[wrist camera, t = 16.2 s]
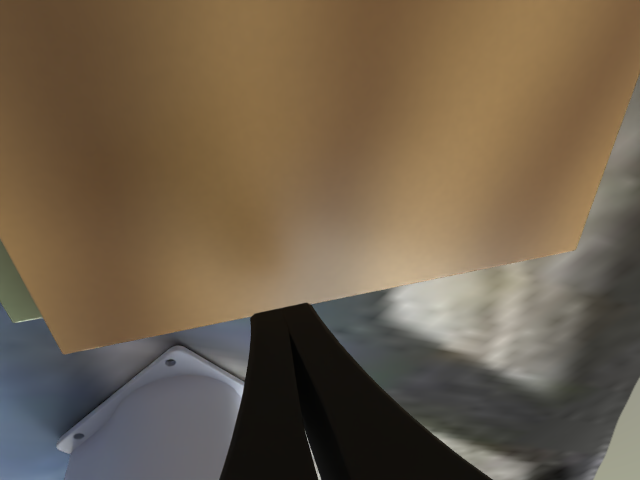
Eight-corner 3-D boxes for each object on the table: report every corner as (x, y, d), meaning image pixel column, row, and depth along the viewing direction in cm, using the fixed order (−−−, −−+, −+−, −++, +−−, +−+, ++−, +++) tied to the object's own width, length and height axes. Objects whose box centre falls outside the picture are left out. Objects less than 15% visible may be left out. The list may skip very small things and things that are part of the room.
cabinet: (112, 211, 17) (62, 356, 10) (-64, -289, 10) (-598, -857, 3) (450, 162, 20) (576, 251, 14) (508, -246, 13) (844, -489, 6)
